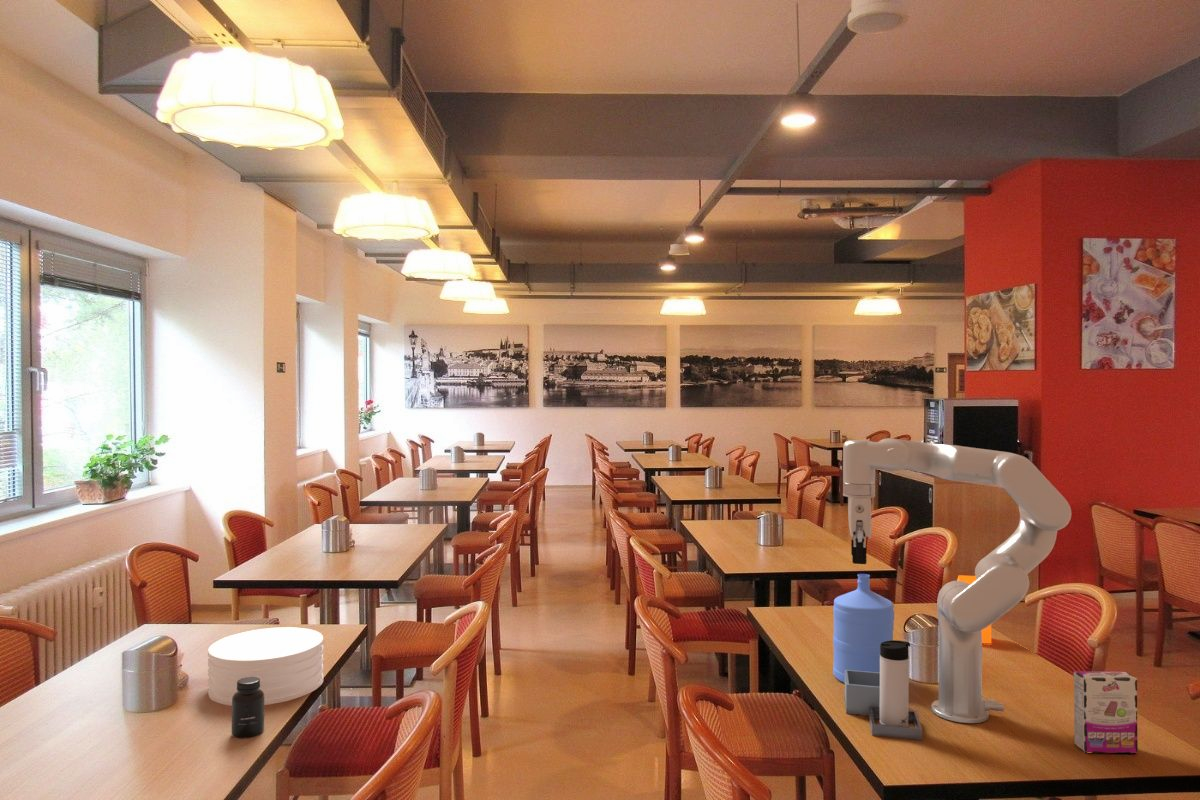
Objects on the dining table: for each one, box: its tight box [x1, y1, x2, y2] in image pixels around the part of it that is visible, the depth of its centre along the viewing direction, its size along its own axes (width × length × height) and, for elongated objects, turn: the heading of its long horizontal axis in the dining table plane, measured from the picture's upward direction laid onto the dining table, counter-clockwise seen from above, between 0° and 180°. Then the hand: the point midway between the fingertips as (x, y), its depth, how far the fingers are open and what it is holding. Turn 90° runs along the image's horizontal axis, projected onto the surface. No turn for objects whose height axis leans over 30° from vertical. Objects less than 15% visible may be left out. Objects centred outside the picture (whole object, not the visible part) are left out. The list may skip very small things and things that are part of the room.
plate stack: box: [207, 626, 324, 707], centre depth 214 cm, size 28×28×12 cm
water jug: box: [832, 573, 895, 684], centre depth 219 cm, size 16×16×28 cm
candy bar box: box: [1073, 670, 1139, 753], centre depth 176 cm, size 11×5×16 cm, turn 87°
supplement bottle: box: [231, 677, 265, 739], centre depth 184 cm, size 7×7×12 cm
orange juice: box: [956, 574, 993, 644], centre depth 253 cm, size 8×9×20 cm
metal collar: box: [868, 707, 923, 741], centre depth 187 cm, size 11×11×2 cm
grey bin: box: [844, 670, 880, 717], centre depth 199 cm, size 11×11×7 cm
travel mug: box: [879, 639, 911, 727], centre depth 187 cm, size 6×7×20 cm
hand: (858, 559), depth 200 cm, fingers open, 9 cm apart
